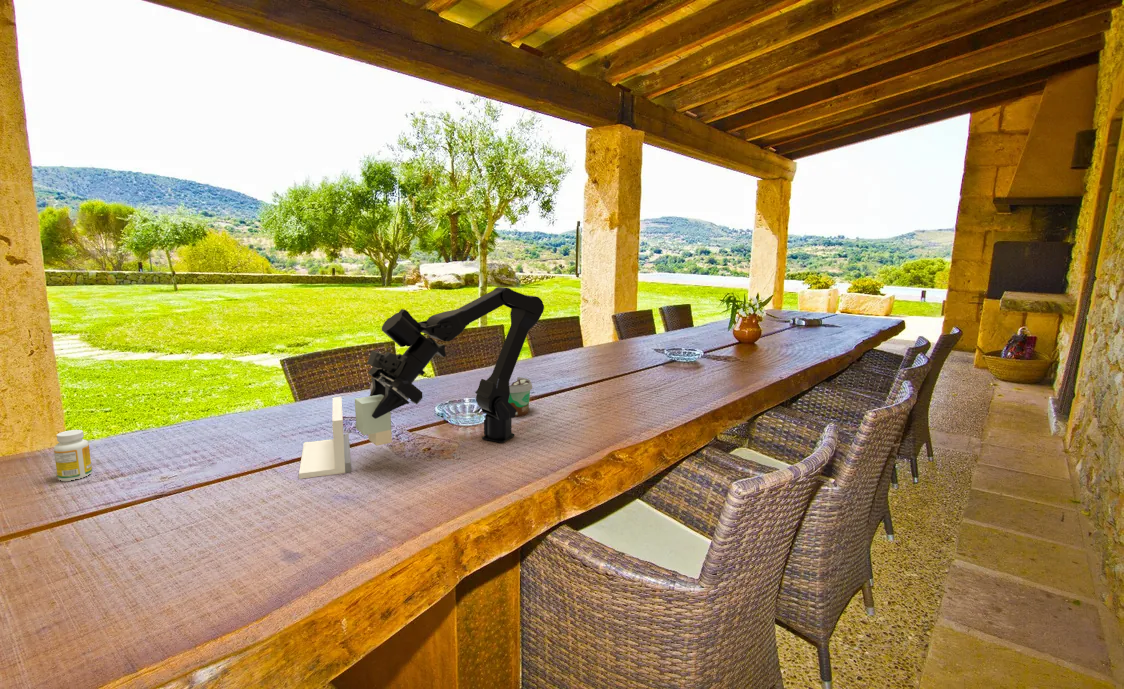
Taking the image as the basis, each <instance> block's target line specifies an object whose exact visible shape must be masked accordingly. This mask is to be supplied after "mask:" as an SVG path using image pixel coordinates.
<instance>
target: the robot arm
mask: <svg viewBox="0 0 1124 689" xmlns="http://www.w3.org/2000/svg"><path fill="white" fill-rule="evenodd" d="M503 306H505V307H506V308H509V309H510V313H509V314H510V326H509V329H508V332H507V334H506V337H505V340H504V342H503V345H502V348H501V350H500V352H499V355H498V357H497V360H496V362H495V366H494V368H493V371H492V373H491V375H490V376H489V377H488V378H487V379H483V378H481V379H480V381H479V384H478V387H477V389H476V391H474V392H475V394H476V396H475V401H476V404H477V405H478V407H479V408H480V409H481V412H482V413H483V414H484V420H483V436H481V439H482V440H485V441H490V442H496V443H500V444H503V443H505V442H507V441H509V440H510V439H512V438H513V437H515V433H513V432H512V428H513V427H512V425H513V424H512V422H513V421H512V419H513V418H514V419H515V418H516V417H515V414H516V409H515V408H514V407H513V406H512V405H511V404H510V403H509V402H508V400H509V396H510V387H509V386H510V380H511V377H512V376H513V372H514V370H515V367H516V365H517V362H518V360H519V356H520V354H521V351H522V349H523V348H524V344H525V342H526V339H527V336H528V334H529V332H530V330H531V329H532V328H533V327H534V326H536V324H537V323H539V320H541V319H540V318H541V316H542V315H543V312H544V311H545V305H544V303H543V300H542V299H541V298H540V297H539V296H535V295H530V294H529V295H527V294H523V293H521V292H517V291H515V290H513V289H512V288H510V287H503V286H497V287H495V288H494V289H493V290H492V291H489V292H488V293H485V294H484V295H482V296H480V297H478V298H476V299H474V300H472V301H470V302H468V303H466V304H464V305H463V306H461V307H459V308H456V309H452V310H451V309H450V310H447V311H443V312H439V313H436V314H433V315H431V316H430V317H428V319H426V320H423V321H417V320H416V319H415V318H414V317H413V316H412V314H410V312H409V311H408V310H406V309H404V308H401V309H400V310H399V311H398V312H397V313H395V314H393V315H392V316H390V317H389V318H387V319H386V320H385V321H384V322H383V325H382V326H381V331H382V332H383V333H384V334H385V335H386V336H388V337H389V338H390V339H391V340H392V341H393V342H394V343H396V345H398V346H399V347H401V348H404V347H408V348H407V349H406V350H405V351H404V352H403V353H402V354H401V353H398V354H395V353H393V352H389V351H387V352H385V353H381V352H379V351H375V350H371V353H370V354H369V357H368V360H367V361H366V364H367V365H370V366H371V368H370V369H369V371H368V372H367V374H369V376H371V377H370V380H371V383H373V389H372V391H370V393H371V394H370V393H369V396H375V395H381V394H382V395H384V397H383V399H382V400H381V402H380V403H379V405H378V406H377V408H376V409H375V411H374V413H373V414H372V417H373V418H375V419H376V418H378V417H380V416H382V415H384V414H386V413H388V412H390V411H394V410H396V409H398V408H400V407H402V406H404V405H409V404H410V402H411V403H413V404H415V405H418V404H419V403H420V402H421V401H422V399H423V391H421V390H420V388H418V387H417V386H416V385H414V384H413V383H414V382H415V380H416V379H417V378H418V376H421V377H422V376H424V375H425V373H426V371H425V368H426V367H427V366H428V364H429V363H430V362H431V361H432V359H433V358H434V357H435V356H436V355H437V356H440V357H442V358H445V357H446V356H447V353H446V345H445V344H442V343H438V342H436V341H435V339H436V340H439V341H443V342H450V341H452V340H454V339H455V338H457V337H458V336H459V335H461V333H463V332H464V330H465V329H466V328H467V326H469V325H470V324H471V323H473V322H475V321H476V320H478V319H480V318H482V317H484V316H486V315H487V314H490V313H491V312H493V311H495V310H496V309H499V308H500V307H503ZM423 334H426V335H428V336H429V337H426V336H425V335H423ZM374 378H375V379H374ZM409 400H410V401H409Z"/></svg>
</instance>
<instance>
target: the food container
mask: <svg viewBox="0 0 1124 689" xmlns="http://www.w3.org/2000/svg"><path fill="white" fill-rule="evenodd" d="M509 387H510V396H509V400H508V402H509V403H510V404H511V405H512V406H513V407H514V408H515V409H516V414H515V417H514V418H521V417H525V416H527V415H528V414H529V408H530V397H531V395H530V394H531V390H533V384H532V381H531V379H529V378H527V377H520V376H517V380H516V381H514V382H512V383H511V384H510V385H509Z"/></svg>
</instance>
